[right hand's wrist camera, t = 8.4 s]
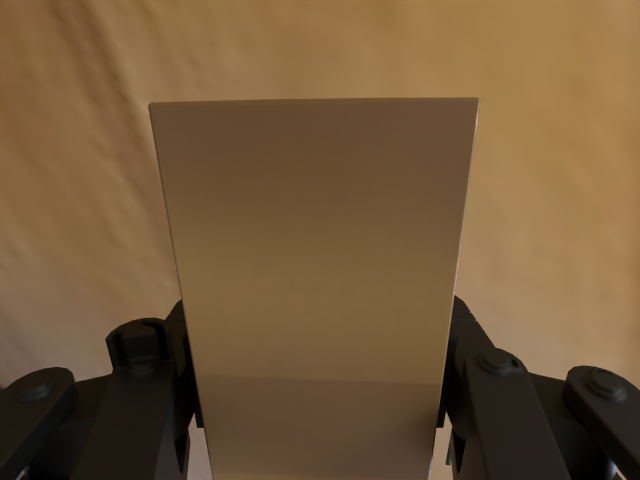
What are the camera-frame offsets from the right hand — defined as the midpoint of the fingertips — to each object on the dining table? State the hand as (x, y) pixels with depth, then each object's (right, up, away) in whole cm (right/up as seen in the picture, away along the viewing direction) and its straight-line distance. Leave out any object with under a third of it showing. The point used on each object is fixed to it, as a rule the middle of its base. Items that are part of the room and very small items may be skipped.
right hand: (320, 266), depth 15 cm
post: (0, -20, +8) cm, 22 cm away
